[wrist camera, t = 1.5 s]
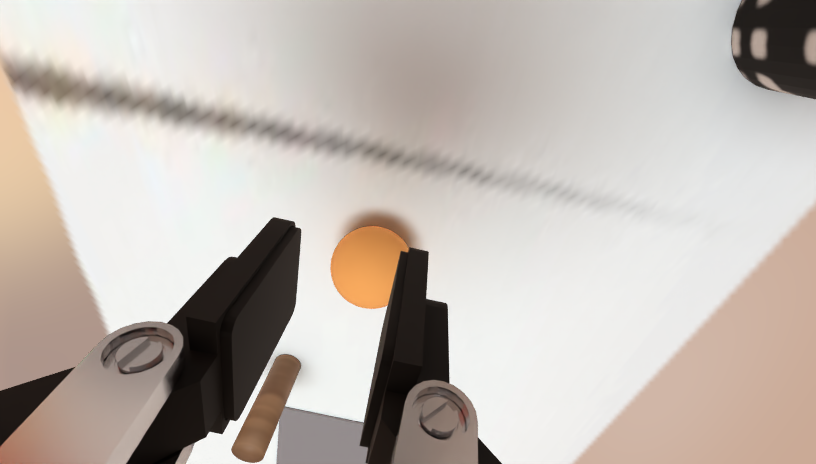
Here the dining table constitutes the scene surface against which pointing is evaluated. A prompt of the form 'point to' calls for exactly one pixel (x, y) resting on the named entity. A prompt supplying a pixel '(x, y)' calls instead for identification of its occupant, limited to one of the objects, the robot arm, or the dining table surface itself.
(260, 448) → the post
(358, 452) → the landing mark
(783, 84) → the white-spotted black cylinder
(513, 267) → the dining table surface
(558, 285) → the dining table surface
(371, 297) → the ball
